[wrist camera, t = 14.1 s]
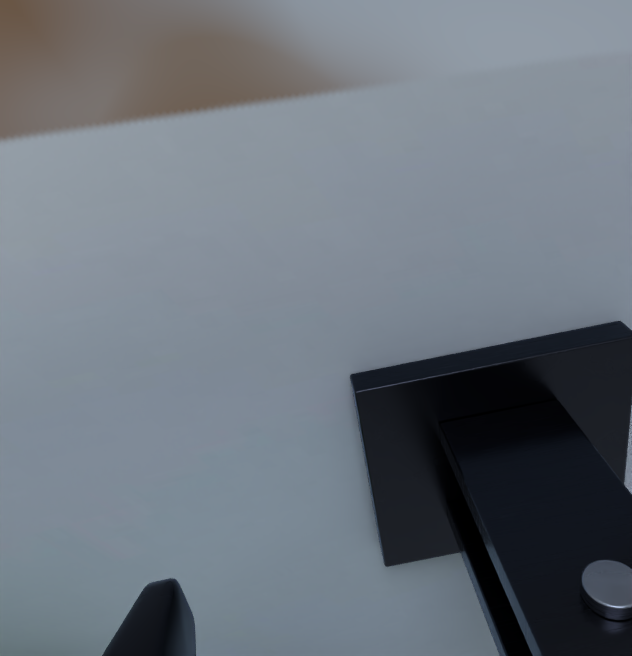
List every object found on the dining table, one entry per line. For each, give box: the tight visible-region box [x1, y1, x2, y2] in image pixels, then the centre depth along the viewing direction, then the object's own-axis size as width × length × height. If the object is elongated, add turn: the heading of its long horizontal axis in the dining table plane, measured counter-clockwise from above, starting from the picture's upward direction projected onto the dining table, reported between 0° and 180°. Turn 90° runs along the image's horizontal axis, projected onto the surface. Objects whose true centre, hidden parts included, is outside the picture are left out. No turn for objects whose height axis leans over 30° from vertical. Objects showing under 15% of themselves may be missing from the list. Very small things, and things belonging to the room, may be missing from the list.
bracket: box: [350, 321, 632, 656], centre depth 19 cm, size 10×9×11 cm
